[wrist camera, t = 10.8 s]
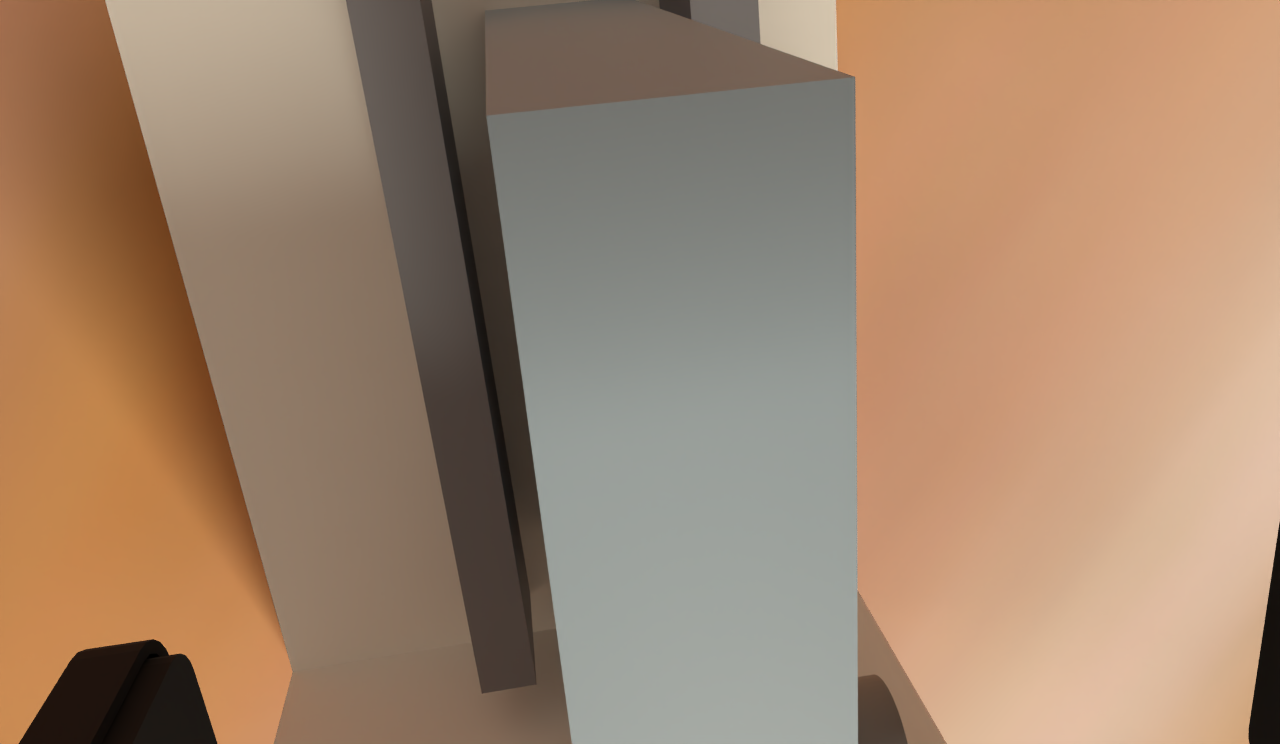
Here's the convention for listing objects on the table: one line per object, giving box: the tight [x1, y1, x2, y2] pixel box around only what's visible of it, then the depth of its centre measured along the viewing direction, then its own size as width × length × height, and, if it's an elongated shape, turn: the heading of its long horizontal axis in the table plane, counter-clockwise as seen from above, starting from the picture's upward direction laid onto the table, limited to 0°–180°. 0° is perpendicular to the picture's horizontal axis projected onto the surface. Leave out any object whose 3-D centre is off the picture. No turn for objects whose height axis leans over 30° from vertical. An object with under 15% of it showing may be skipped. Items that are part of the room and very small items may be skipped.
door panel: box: [485, 0, 908, 744], centre depth 14 cm, size 4×10×12 cm, turn 5°
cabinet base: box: [105, 0, 947, 744], centre depth 14 cm, size 12×18×13 cm, turn 6°
